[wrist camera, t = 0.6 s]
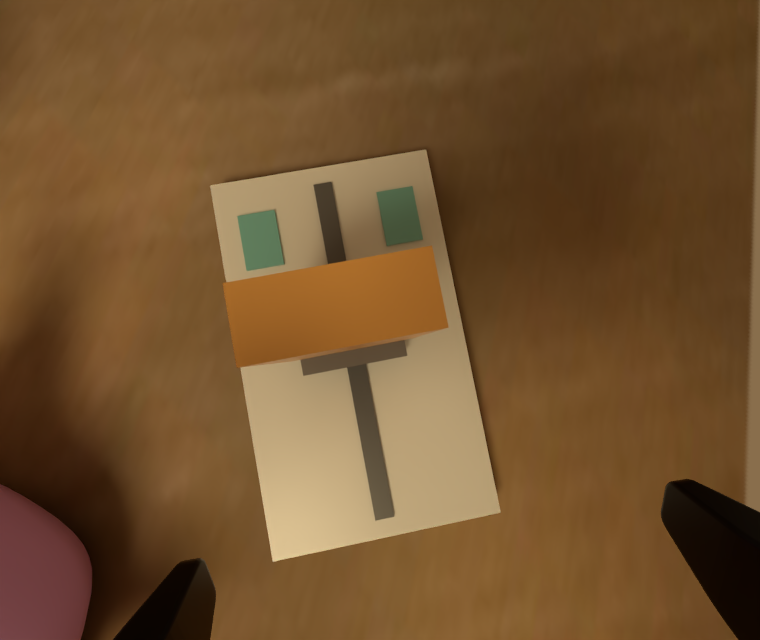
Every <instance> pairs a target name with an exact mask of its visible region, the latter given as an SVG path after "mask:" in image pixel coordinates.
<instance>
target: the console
mask: <svg viewBox="0 0 760 640" xmlns="http://www.w3.org/2000/svg"><path fill="white" fill-rule="evenodd" d="M210 188H211V194H212V200H213V206H214V212H215V218H216V224H217V230H218V236H219V242H220V248H221V254H222V260H223V266H224V272H225V278H226V282H232V281H237V280H243V279H248V278H254V277H259V276H265V275H271V274H276V273H282V272H287V271H293V270H298V269H304V268H309V267H315V266H321V265H326V264H332V263H337V262H343V261H348V260H354V259H360V258H365V257H371V256H376V255H382V254H387V253H393V252H398V251H404V250H410V249H415V248H421V247H426V246H432V248H433V253H434V258H435V263H436V268H437V273H438V277H439V282H440V287H441V292H442V297H443V302H444V307H445V312H446V317H447V322H448V327H449V328H445V329H442V330H439V331H435V332H432V333H429V334H425V335H422V336H419V337H415V338H412V339H406V340H405V345H406V351H407V356H404V357H399V358H394V359H388V360H383V361H378V362H373V363H368V364H362V365H357V366H352V367H347V368H342V369H337V370H331V371H326V372H321V373H316V374H311V375H305V376H303V372H302V366H301V360H296V361H291V362H282V363H274V364H265V365H257V366H249V367H240V368H241V374H242V380H243V386H244V392H245V398H246V404H247V410H248V416H249V422H250V428H251V434H252V440H253V446H254V452H255V458H256V464H257V470H258V476H259V482H260V488H261V494H262V500H263V506H264V512H265V517H266V523H267V529H268V535H269V541H270V547H271V553H272V559H273V562H274V561H278V560H283V559H287V558H292V557H297V556H301V555H306V554H311V553H315V552H320V551H325V550H329V549H334V548H339V547H343V546H348V545H353V544H357V543H362V542H366V541H371V540H376V539H380V538H385V537H390V536H394V535H399V534H404V533H408V532H413V531H418V530H422V529H427V528H432V527H436V526H441V525H445V524H450V523H455V522H459V521H464V520H469V519H473V518H478V517H483V516H487V515H492V514H497V513H501V512H500V507H499V502H498V497H497V492H496V488H495V483H494V478H493V473H492V468H491V463H490V458H489V453H488V449H487V444H486V439H485V434H484V429H483V424H482V419H481V414H480V410H479V405H478V400H477V395H476V390H475V385H474V380H473V375H472V371H471V366H470V361H469V356H468V351H467V346H466V341H465V336H464V332H463V327H462V322H461V317H460V312H459V307H458V302H457V297H456V293H455V288H454V283H453V278H452V273H451V268H450V263H449V258H448V254H447V249H446V244H445V239H444V234H443V229H442V224H441V219H440V215H439V210H438V205H437V200H436V195H435V190H434V185H433V180H432V176H431V171H430V166H429V161H428V156H427V151H426V149H425V150H419V151H413V152H407V153H401V154H395V155H390V156H384V157H378V158H372V159H366V160H360V161H354V162H348V163H342V164H336V165H330V166H324V167H318V168H312V169H306V170H300V171H294V172H288V173H282V174H276V175H270V176H264V177H258V178H252V179H246V180H240V181H234V182H228V183H222V184H216V185H210Z"/></svg>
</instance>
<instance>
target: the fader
mask: <svg viewBox="0 0 760 640" xmlns="http://www.w3.org/2000/svg"><path fill="white" fill-rule="evenodd" d="M223 288H224V294H225V300H226V306H227V312H228V318H229V324H230V330H231V336H232V342H233V348H234V354H235V360H236V366H237V368H240V367H249V366H257V365H265V364H274V363H282V362H291V361H296V360H301V366H302V372H303V376H305V375H311V374H316V373H321V372H326V371H331V370H337V369H342V368H347V367H352V366H357V365H362V364H368V363H373V362H378V361H383V360H388V359H394V358H399V357H404V356H407V351H406V345H405V340H406V339H412V338H415V337H419V336H422V335H425V334H429V333H432V332H435V331H439V330H442V329H445V328H449V327H448V322H447V317H446V312H445V307H444V302H443V297H442V292H441V287H440V282H439V277H438V273H437V268H436V263H435V258H434V253H433V248H432V246H426V247H421V248H415V249H410V250H404V251H398V252H393V253H387V254H382V255H376V256H371V257H365V258H360V259H354V260H348V261H343V262H337V263H332V264H326V265H321V266H315V267H309V268H304V269H298V270H293V271H287V272H282V273H276V274H271V275H265V276H259V277H254V278H248V279H243V280H237V281H232V282H226V283H223Z"/></svg>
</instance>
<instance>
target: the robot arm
mask: <svg viewBox="0 0 760 640" xmlns="http://www.w3.org/2000/svg"><path fill="white" fill-rule="evenodd" d="M661 518H662V521H663V523H664V526H665V527H666V529H667V531H668V532H669V534H670V536H671V537H672V539H673V540H674V542H675V544H676V545H677V547H678V549H679V550H680V552H681V553H682V555H683V557H684V558H685V560H686V562H687V563H688V565H689V566H690V568H691V570H692V571H693V573H694V575H695V576H696V578H697V580H698V581H699V583H700V584H701V586H702V588H703V589H704V591H705V593H706V594H707V596H708V597H709V599H710V600H711V602H712V603H713V605H714V606H715V608H716V609H717V611H718V612H719V614H720V615H721V616H722V618H723V619H724V621H725V622H726V623H727V625H728V626H729V628H730V629H731V630H732V632H733V633H734V634H735V636H736V637H737V638H738V640H760V512H758V511H756V510H754V509H752V508H750V507H748V506H746V505H744V504H742V503H739V502H737V501H735V500H733V499H731V498H729V497H727V496H725V495H723V494H721V493H719V492H717V491H715V490H712V489H710V488H708V487H706V486H704V485H702V484H700V483H698V482H696V481H693V480H690V479H683V480H677V481H671V482H669V483H668V484H667V485H666V488H665V493H664V498H663V503H662V508H661ZM215 601H216V591H215V586H214V583H213V581H212V578H211V575H210V573H209V570H208V567H207V565H206V562H205V561H204V560H203V559H202V558H197V559H191V560H185V561H181V562H180V563H178V564H177V565H176V566H175V567H174V568H173V570H172V571H171V572H170V573H169V574H168V575H167V577H166V578H165V579H164V580H163V581H162V582H161V584H160V585H159V586H158V587H157V588H156V589H155V591H154V592H153V593H152V594H151V595H150V596H149V598H148V599H147V600H146V601H145V602H144V604H143V605H142V606H141V607H140V608H139V609H138V611H137V612H136V613H135V614H134V615H133V616H132V618H131V619H130V620H129V621H128V622H127V623H126V625H125V626H124V627H123V628H122V629H121V630H120V632H119V633H118V634H117V635H116V636H115V637H114V639H113V640H210V637H211V629H212V622H213V615H214V608H215Z"/></svg>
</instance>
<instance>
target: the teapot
mask: <svg viewBox="0 0 760 640" xmlns="http://www.w3.org/2000/svg"><path fill="white" fill-rule="evenodd" d="M91 590H92V566H91V561H90V557H89V555H88V553H87V551H86V549H85V547H84V545H83V543H82V542H81V541H80V540H79V538H78V537H77V536H76V535H75V533H74V532H73V531H72V530H71V529H69V528H68V527H67V526H66V525H65V524H64V523H63V522H61V521H60V520H59V519H58V518H56V517H55V516H54V515H52V514H51V513H49V512H48V511H46V510H45V509H43V508H42V507H40V506H39V505H37V504H36V503H34V502H32V501H31V500H29V499H27V498H26V497H24V496H23V495H21V494H19V493H17V492H15V491H13V490H11V489H9V488H8V487H6V486H3V485H1V484H0V640H81V636H82V633H83V630H84V626H85V621H86V616H87V612H88V607H89V602H90V597H91Z"/></svg>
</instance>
